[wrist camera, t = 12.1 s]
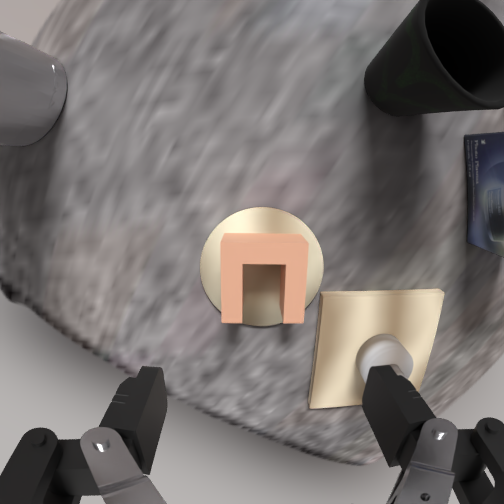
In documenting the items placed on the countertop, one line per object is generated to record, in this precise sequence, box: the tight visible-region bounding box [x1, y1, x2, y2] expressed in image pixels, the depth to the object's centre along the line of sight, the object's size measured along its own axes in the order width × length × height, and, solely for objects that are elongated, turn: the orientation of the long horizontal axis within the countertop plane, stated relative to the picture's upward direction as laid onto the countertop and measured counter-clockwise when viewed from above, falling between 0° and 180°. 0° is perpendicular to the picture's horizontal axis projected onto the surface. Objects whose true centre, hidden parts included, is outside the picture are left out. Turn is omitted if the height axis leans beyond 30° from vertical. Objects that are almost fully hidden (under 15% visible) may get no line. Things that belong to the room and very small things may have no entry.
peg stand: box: [308, 289, 445, 409], centre depth 23 cm, size 12×12×11 cm
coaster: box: [200, 207, 323, 326], centre depth 26 cm, size 10×10×1 cm
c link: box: [220, 233, 309, 323], centre depth 24 cm, size 6×6×4 cm
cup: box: [364, 0, 504, 116], centre depth 17 cm, size 8×8×12 cm
